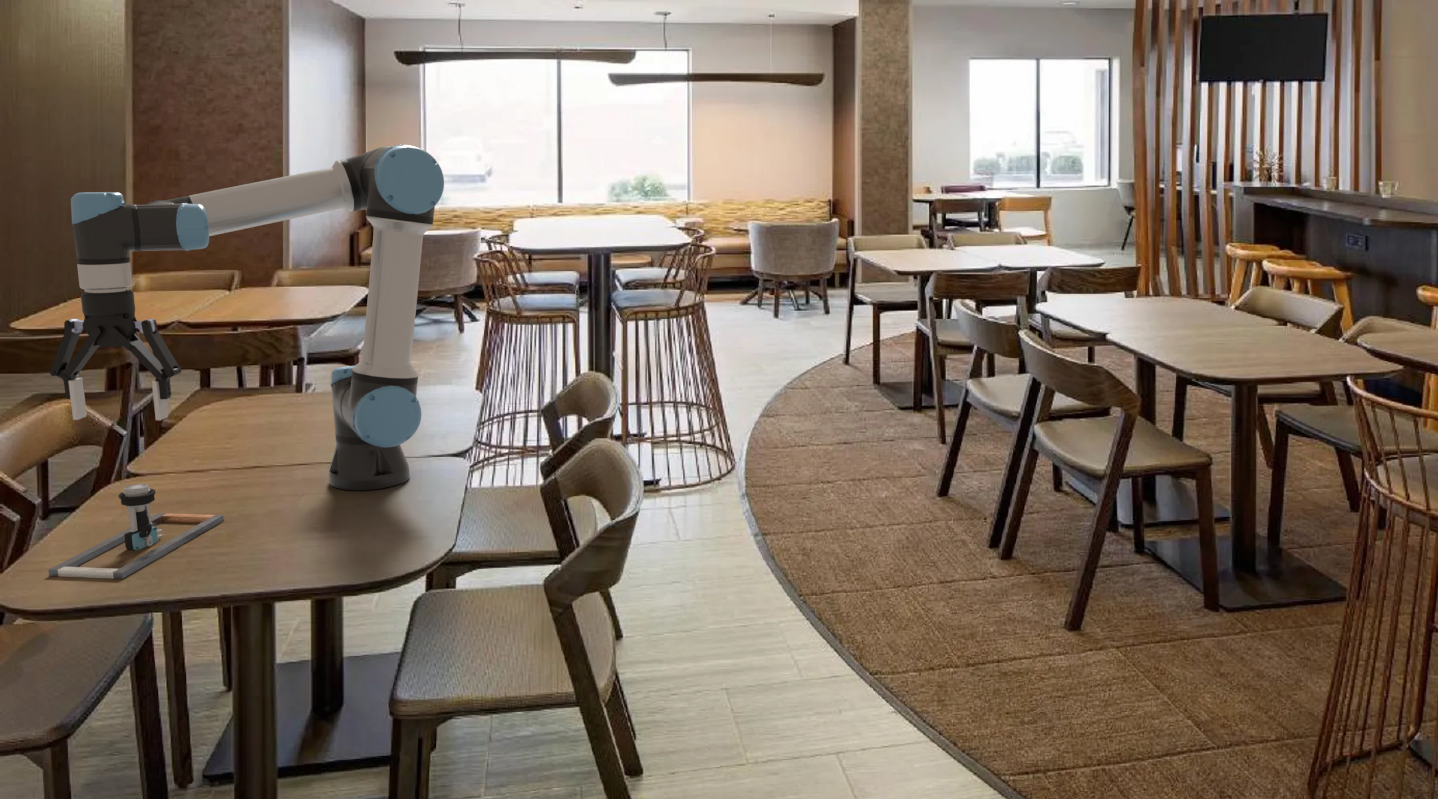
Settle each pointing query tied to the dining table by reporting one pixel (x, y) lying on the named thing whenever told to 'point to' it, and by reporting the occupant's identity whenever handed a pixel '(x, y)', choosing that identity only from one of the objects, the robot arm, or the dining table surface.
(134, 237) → the robot arm
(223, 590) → the dining table surface
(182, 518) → the open rectangular frame
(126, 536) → the push button
